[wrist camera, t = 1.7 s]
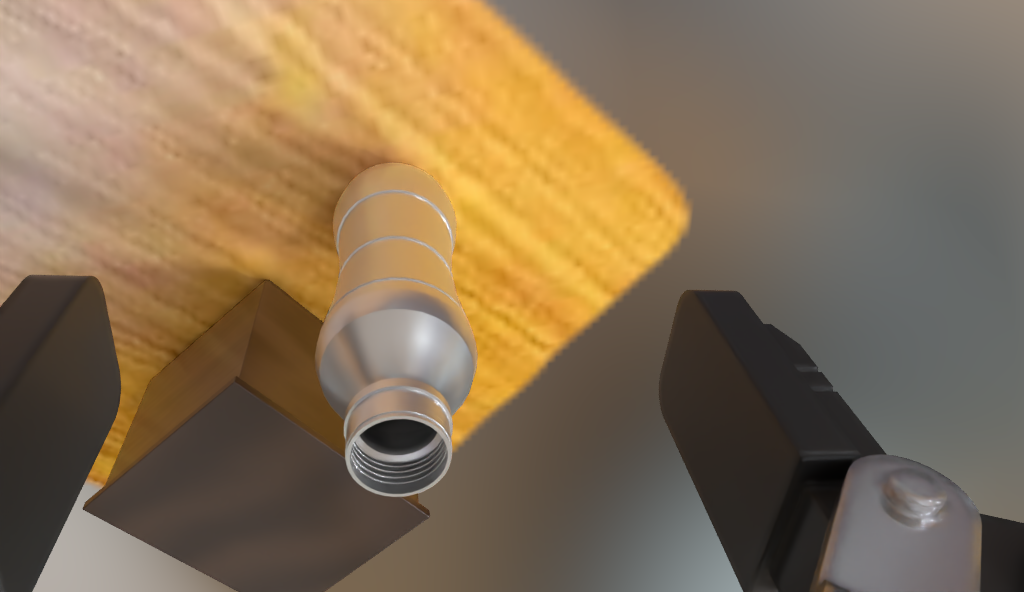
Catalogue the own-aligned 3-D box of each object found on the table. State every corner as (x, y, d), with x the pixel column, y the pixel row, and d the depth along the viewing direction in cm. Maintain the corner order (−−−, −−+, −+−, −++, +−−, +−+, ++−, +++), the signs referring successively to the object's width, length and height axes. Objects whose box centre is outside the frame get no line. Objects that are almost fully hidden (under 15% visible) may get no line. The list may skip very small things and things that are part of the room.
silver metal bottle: (344, 264, 44) (316, 538, 27) (327, 152, 40) (283, 388, 23) (455, 255, 44) (497, 517, 28) (449, 144, 41) (492, 368, 24)
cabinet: (133, 380, 46) (68, 520, 37) (267, 261, 43) (234, 381, 34) (295, 484, 52) (275, 627, 43) (422, 386, 49) (430, 517, 40)
